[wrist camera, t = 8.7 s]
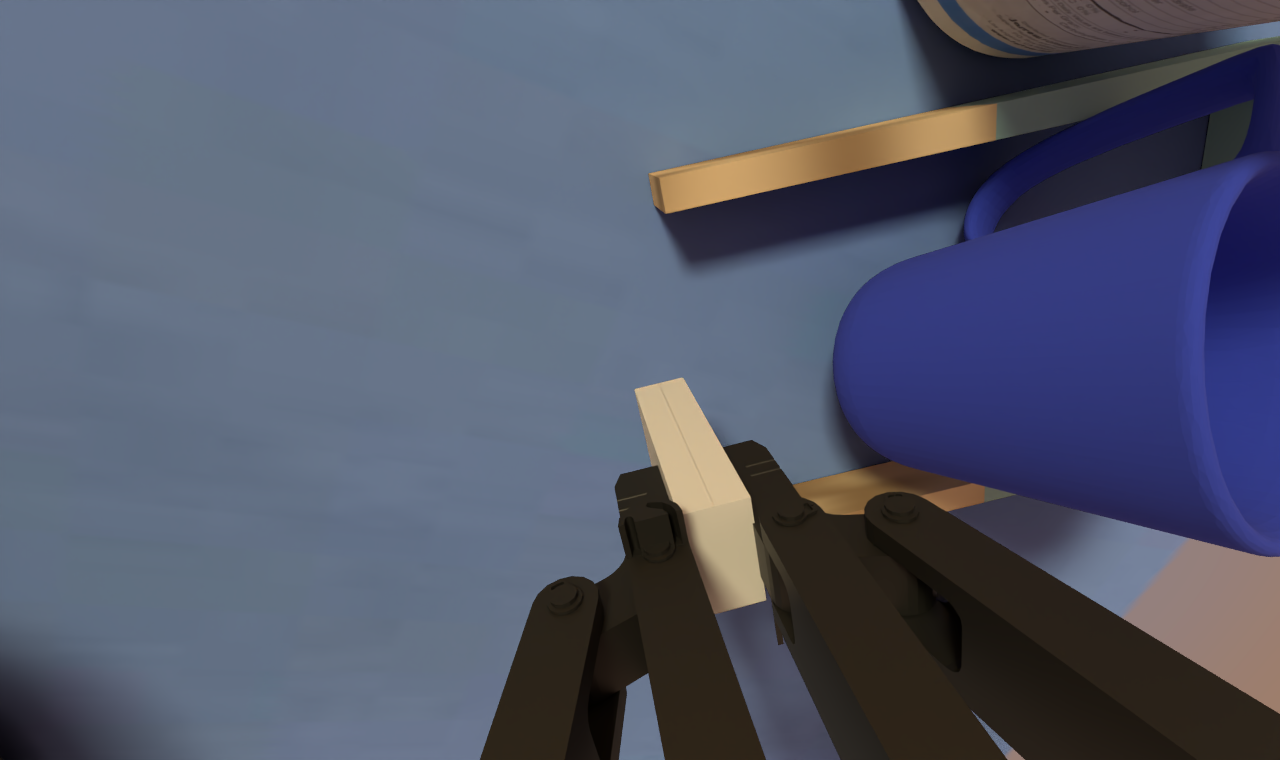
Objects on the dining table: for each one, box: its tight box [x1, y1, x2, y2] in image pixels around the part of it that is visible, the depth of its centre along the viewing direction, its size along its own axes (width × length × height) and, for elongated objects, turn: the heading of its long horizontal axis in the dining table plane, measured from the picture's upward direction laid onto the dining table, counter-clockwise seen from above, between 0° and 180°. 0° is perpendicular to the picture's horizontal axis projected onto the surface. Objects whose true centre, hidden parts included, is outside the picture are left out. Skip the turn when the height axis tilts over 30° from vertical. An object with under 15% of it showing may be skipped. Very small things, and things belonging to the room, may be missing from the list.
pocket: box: [947, 36, 1280, 502], centre depth 21 cm, size 10×14×4 cm
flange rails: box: [648, 103, 997, 515], centre depth 21 cm, size 10×14×2 cm
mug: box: [833, 44, 1280, 557], centre depth 17 cm, size 8×12×10 cm
